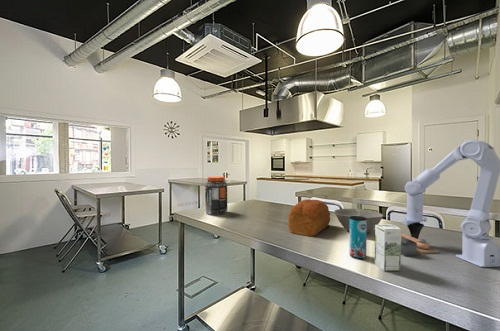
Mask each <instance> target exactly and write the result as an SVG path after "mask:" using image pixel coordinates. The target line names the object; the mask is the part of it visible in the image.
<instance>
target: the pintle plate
mask: <svg viewBox="0 0 500 331" xmlns="http://www.w3.org/2000/svg"><path fill="white" fill-rule="evenodd" d="M417 253H419V254H421V255H426V254H439V250H436V249H434V248H432V247H430V246H429V249H421V248H418V247H417Z"/></svg>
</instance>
